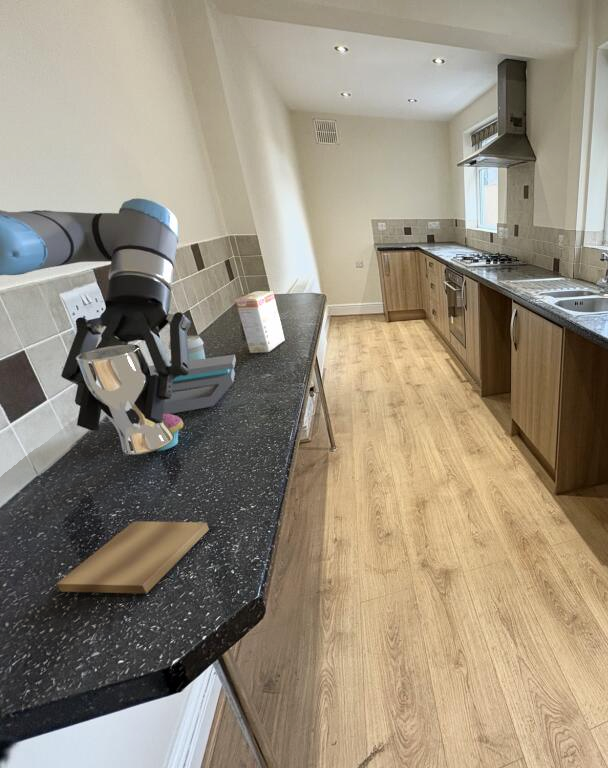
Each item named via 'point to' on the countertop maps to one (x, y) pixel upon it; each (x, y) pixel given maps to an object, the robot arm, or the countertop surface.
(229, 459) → the countertop surface
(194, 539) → the serving board
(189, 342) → the coffee cup
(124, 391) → the beer glass
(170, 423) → the cupcake
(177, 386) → the grey tapered box
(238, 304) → the coffeecake box
